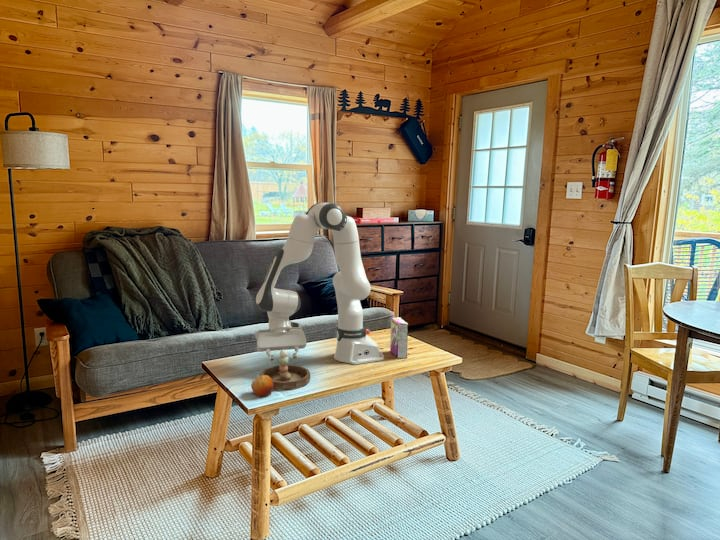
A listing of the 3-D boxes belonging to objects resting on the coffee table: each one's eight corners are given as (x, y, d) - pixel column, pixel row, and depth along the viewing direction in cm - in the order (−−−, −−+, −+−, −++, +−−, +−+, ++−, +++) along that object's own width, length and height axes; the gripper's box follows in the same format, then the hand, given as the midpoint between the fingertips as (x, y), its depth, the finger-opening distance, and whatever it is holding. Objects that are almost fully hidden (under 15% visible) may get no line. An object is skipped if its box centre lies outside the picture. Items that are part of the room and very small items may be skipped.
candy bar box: (389, 351, 235) (390, 317, 232) (399, 350, 236) (400, 317, 233) (396, 359, 224) (398, 323, 221) (407, 358, 225) (408, 323, 222)
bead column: (287, 372, 203) (287, 347, 202) (289, 375, 200) (289, 350, 198) (278, 373, 202) (277, 348, 200) (279, 376, 198) (279, 351, 197)
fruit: (280, 393, 180) (268, 376, 178) (261, 405, 179) (249, 388, 177) (277, 384, 188) (266, 368, 186) (259, 396, 187) (247, 380, 184)
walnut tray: (304, 370, 208) (304, 363, 207) (313, 387, 190) (314, 379, 189) (258, 374, 202) (258, 367, 202) (263, 392, 184) (263, 384, 184)
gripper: (255, 326, 203) (257, 357, 195) (304, 323, 209) (309, 353, 201) (254, 334, 208) (256, 364, 200) (302, 330, 214) (307, 360, 206)
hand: (283, 358), depth 200 cm, fingers open, 8 cm apart
